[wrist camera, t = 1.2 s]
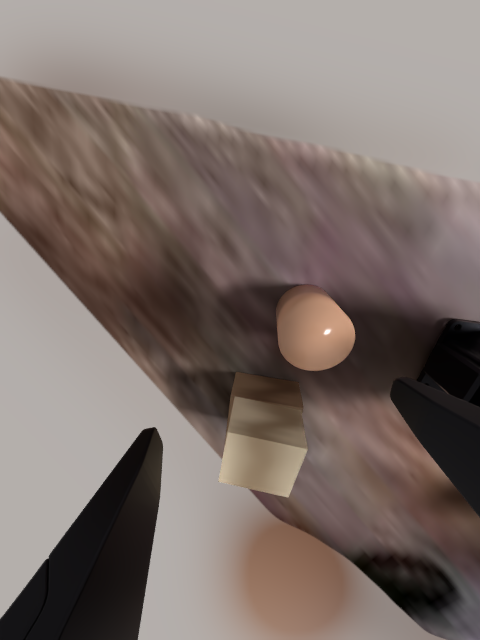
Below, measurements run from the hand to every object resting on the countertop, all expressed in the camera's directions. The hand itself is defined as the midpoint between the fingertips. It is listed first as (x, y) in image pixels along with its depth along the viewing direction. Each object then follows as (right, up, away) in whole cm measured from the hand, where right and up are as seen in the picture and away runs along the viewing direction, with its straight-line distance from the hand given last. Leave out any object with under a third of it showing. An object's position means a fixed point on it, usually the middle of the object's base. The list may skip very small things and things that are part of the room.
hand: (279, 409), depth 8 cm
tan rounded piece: (+4, +4, +10) cm, 12 cm away
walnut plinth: (+1, -5, +14) cm, 15 cm away
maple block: (0, -6, +11) cm, 13 cm away
